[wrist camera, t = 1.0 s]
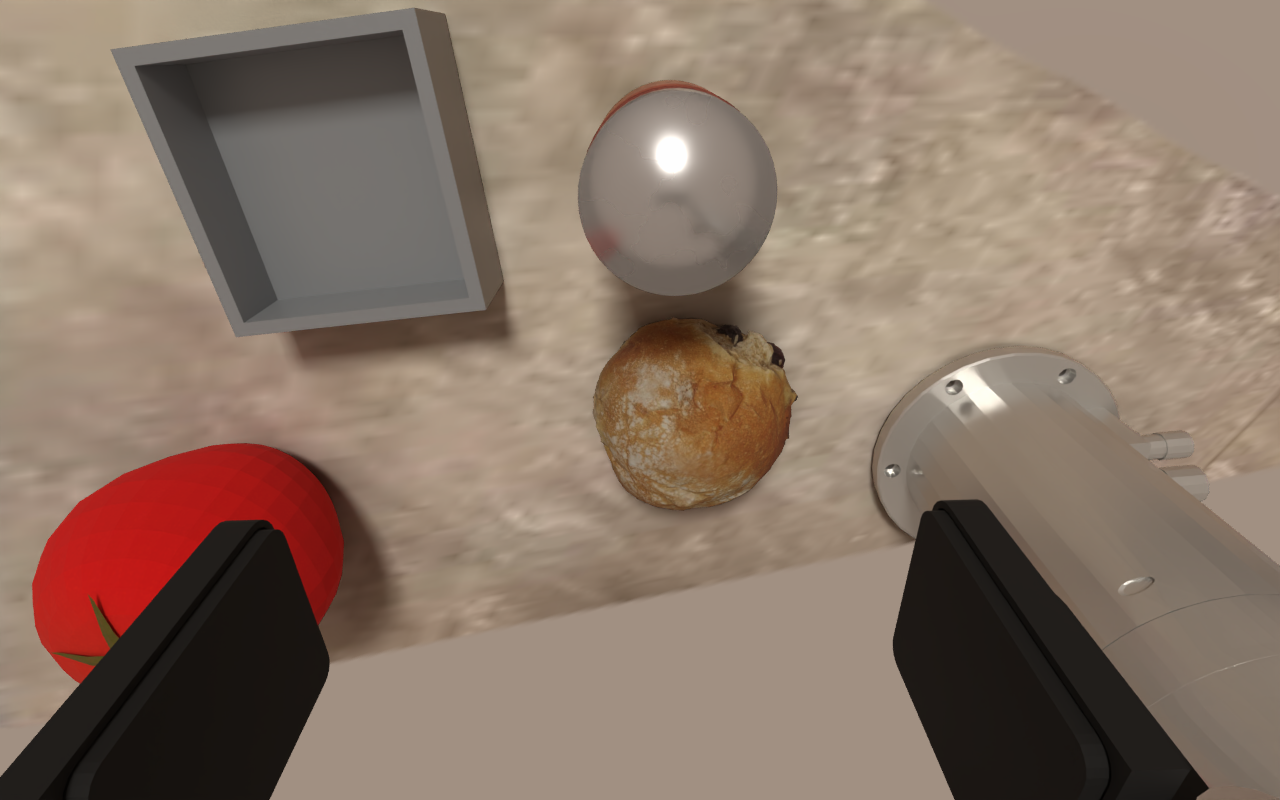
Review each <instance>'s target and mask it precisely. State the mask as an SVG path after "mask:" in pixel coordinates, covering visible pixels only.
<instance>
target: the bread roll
mask: <svg viewBox="0 0 1280 800" xmlns="http://www.w3.org/2000/svg"><path fill="white" fill-rule="evenodd" d="M784 362H785V358H784V355H783V353H782V351H781V349H780V348H779V347H777V346H775V344H773V343H770V342H766V339H765V338H764V337H763V336H762V335H761V334H760V333H755V332H753V331H748V335H745V334H743V333H741V331H740V329H739V328H738V327H737V326H734V325H724V326H721V327H719V326H716V325H714V324H712V323H710V322H707V321H705V320H703V319H677V318H675V317H673V318H672V319H669V320H663V321H659V322H655V323H651V324H648V325H646V326H643V327H641V328H639V329H638V331H637V332H636V333H634V334H633V335H632V336H631V337H630V338H629V339H628V340H626V341H624V344H623V345H622V347H621V348H620V349H619V350H618V352H617V353H616V354H615V355H614V356H613V357H612V358H611V359H610V360H609V361H608V363H607V364H606V365H605V367H604V368H603V370H602V372H601V374H600V376H599V380H598V382H597V386H596V389H595V394H594V397H593V398H594V409H593V415H594V418H595V420H596V428H597V430H598V432H599V434H600V437H601V442H602V443H604V447H605V449H606V452H607V455H608V457H609V459H610V461H611V463H612V467H613V470H614V472H615V474H616V476H617V478H618V479H619V482H620V483H621V484H622V486H623V487H624V488H625V490H626V491H627V492H629V493H630V494H632V495H633V496H635V497H636V498H637V499H639V500H641V501H643V502H645V503H648V504H651V505H653V506H656V507H661V508H667V509H671V510H685V509H691V508H701V507H711V506H715V505H719V504H722V503H725V502H728V501H731V500H732V499H734V498H736V497H738V496H740V495H742V494H744V493H746V492H748V491H749V490H750V489H751V488H753V486H754V485H755V484H756V483H757V482H758V481H759V480H760V479H761V478H762V477H763V476H764V475H765V474H766V473H767V472H768V471H769V470H770V468H771V466H772V465H773V463H774V462H775V461H776V459H777V458H778V456H779V455H780V453H781V452H782V449H783V447H784V445H785V440H786V439H789V424H790V418H791V405H792V403H793V402H794V401H796V400H797V398H798V396H797V394H796V393H795V391H794V390H793V389H791V387H790V385H789V383H788V381H787V378H786V375H785V371H784V370H783V367H784V366H783V365H784ZM736 368H739V369H736Z"/></svg>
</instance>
